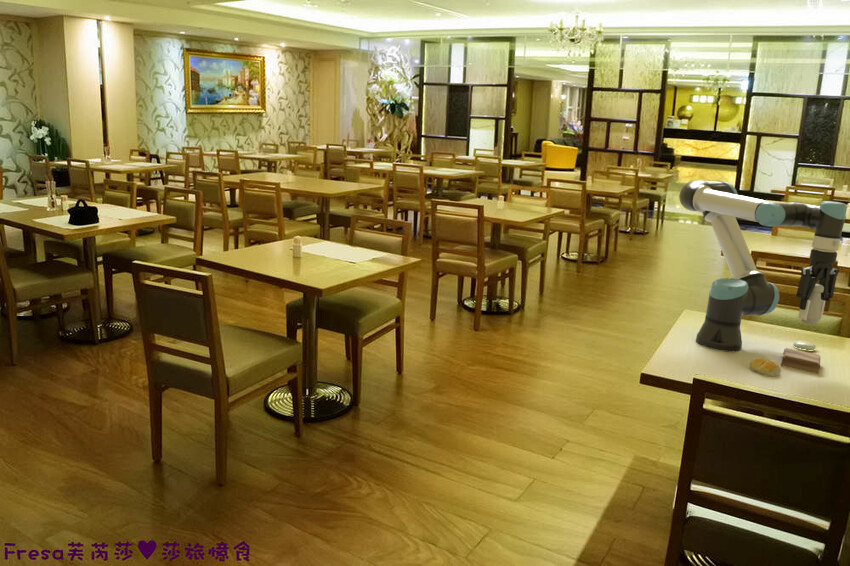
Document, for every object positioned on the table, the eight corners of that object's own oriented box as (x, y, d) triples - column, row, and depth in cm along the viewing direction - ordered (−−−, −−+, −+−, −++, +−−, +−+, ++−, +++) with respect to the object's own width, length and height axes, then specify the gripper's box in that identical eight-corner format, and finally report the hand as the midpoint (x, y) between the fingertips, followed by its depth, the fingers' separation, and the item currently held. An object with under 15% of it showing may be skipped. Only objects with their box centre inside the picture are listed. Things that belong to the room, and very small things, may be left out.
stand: (818, 373, 227) (820, 363, 226) (780, 365, 232) (783, 355, 231) (818, 364, 236) (820, 354, 236) (782, 356, 241) (784, 347, 241)
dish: (803, 352, 250) (804, 346, 249) (788, 345, 256) (789, 340, 256) (819, 351, 252) (820, 346, 251) (803, 345, 258) (805, 340, 258)
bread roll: (758, 365, 231) (761, 354, 230) (783, 375, 223) (786, 363, 222) (742, 368, 227) (745, 356, 226) (767, 378, 219) (770, 366, 218)
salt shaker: (818, 326, 228) (827, 287, 225) (798, 322, 230) (807, 284, 227) (819, 322, 233) (827, 284, 230) (799, 319, 235) (807, 281, 232)
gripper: (811, 251, 219) (796, 322, 225) (856, 252, 225) (841, 321, 231) (792, 247, 226) (778, 315, 232) (836, 248, 232) (822, 315, 238)
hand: (809, 318), depth 231 cm, fingers closed on salt shaker, 6 cm apart
